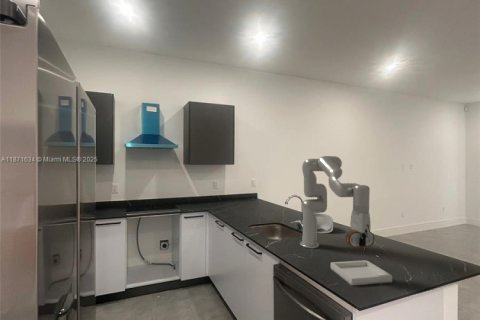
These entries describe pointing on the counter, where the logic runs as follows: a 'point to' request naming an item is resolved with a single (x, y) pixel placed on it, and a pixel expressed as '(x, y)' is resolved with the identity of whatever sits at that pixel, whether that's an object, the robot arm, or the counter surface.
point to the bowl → (324, 222)
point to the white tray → (360, 272)
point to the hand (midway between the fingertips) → (360, 244)
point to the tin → (354, 237)
